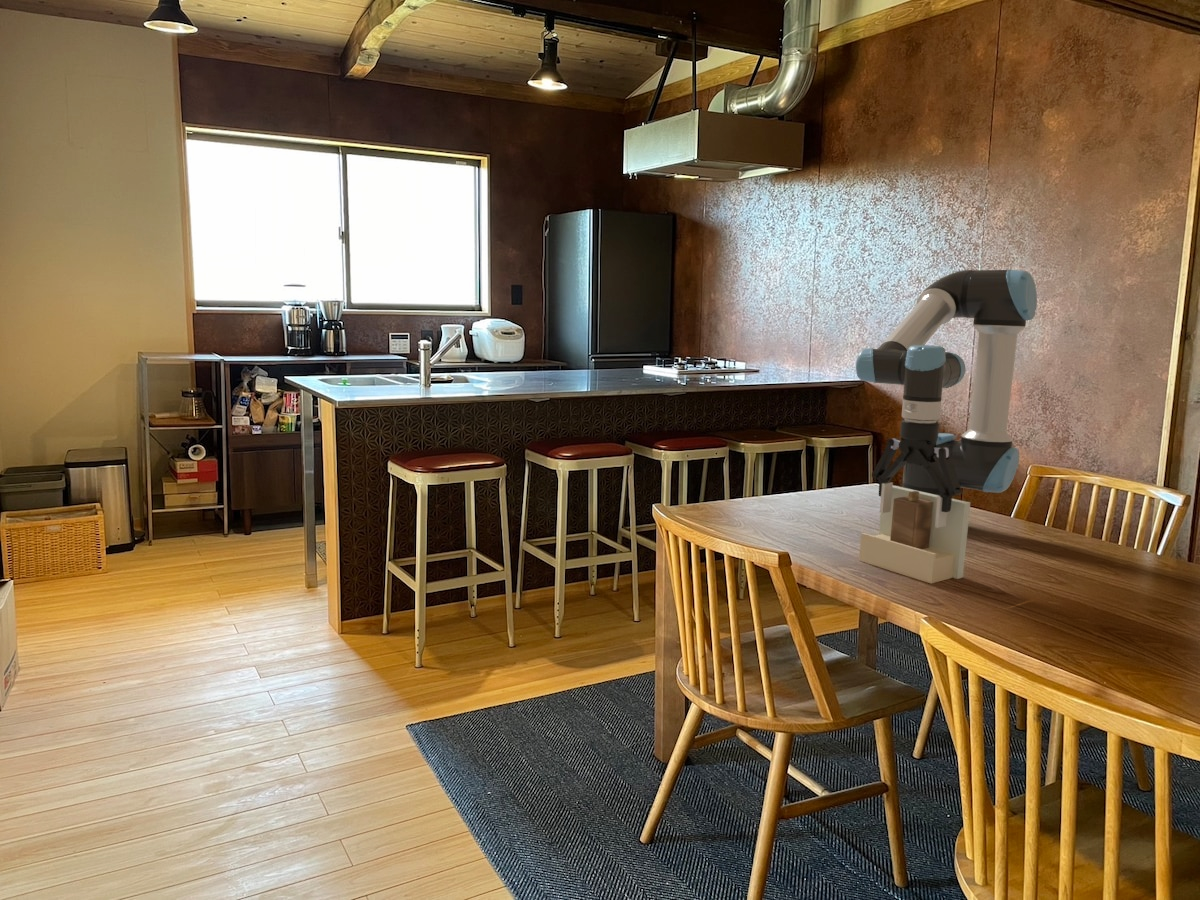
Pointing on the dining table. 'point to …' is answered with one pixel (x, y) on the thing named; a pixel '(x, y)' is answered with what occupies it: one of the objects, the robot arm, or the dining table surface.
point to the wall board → (921, 563)
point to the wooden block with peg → (911, 521)
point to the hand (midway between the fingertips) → (911, 519)
